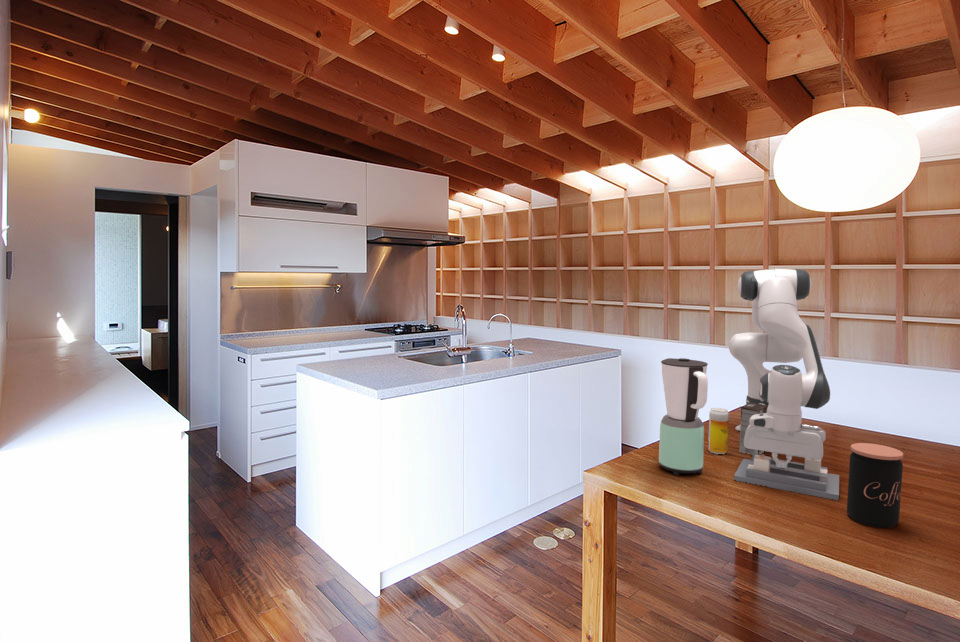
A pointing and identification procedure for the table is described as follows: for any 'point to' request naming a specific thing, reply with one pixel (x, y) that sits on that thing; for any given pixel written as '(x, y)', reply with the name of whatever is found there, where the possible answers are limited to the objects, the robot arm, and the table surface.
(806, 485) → the switch bank
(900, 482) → the coffee jar
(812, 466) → the tab
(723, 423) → the beer can
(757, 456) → the tab
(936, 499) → the table surface
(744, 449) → the coffee box
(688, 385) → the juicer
